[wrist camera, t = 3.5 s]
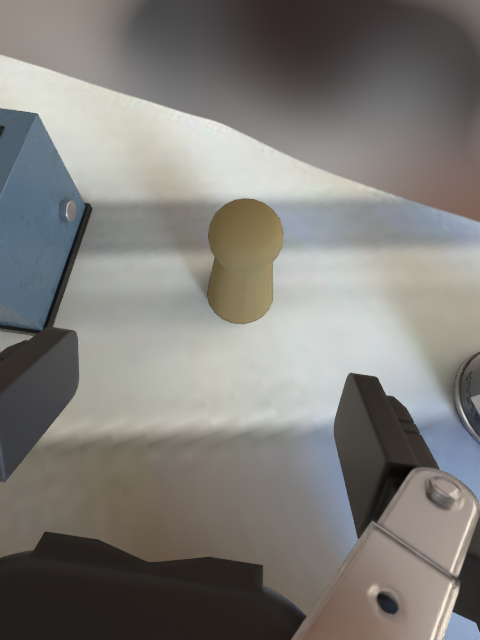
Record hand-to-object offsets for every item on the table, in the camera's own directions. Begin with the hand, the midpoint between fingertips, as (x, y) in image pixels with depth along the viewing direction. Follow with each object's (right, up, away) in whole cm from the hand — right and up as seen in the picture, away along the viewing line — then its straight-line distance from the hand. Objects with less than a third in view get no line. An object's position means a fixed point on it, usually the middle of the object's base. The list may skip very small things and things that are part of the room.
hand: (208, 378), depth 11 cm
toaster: (-18, +7, +24) cm, 31 cm away
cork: (+1, +4, +24) cm, 25 cm away
